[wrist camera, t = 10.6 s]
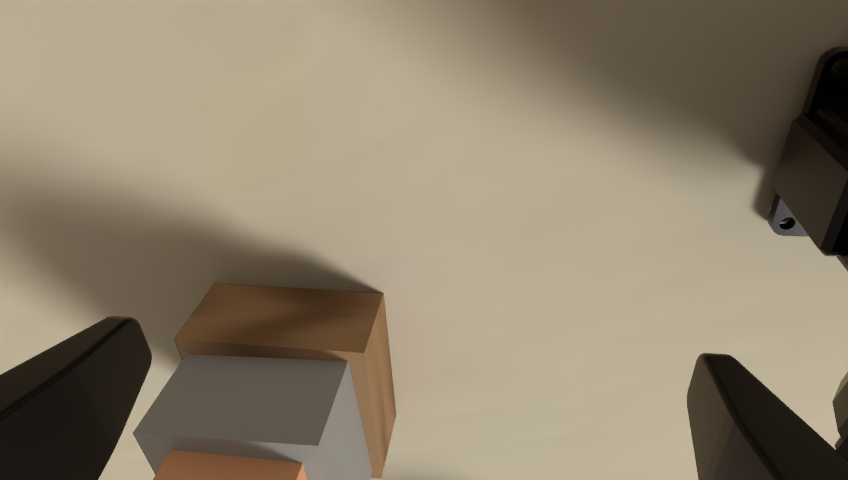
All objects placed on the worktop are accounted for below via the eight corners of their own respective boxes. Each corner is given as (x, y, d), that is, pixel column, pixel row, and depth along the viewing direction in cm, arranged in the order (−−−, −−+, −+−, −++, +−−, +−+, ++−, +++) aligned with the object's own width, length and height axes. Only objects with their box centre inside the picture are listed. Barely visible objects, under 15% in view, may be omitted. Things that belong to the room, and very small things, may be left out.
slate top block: (348, 361, 23) (318, 445, 20) (372, 471, 27) (350, 557, 23) (186, 354, 24) (132, 433, 21) (231, 460, 28) (191, 541, 25)
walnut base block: (384, 289, 26) (364, 352, 23) (396, 410, 30) (381, 478, 27) (217, 280, 27) (174, 338, 24) (252, 397, 31) (219, 461, 28)
